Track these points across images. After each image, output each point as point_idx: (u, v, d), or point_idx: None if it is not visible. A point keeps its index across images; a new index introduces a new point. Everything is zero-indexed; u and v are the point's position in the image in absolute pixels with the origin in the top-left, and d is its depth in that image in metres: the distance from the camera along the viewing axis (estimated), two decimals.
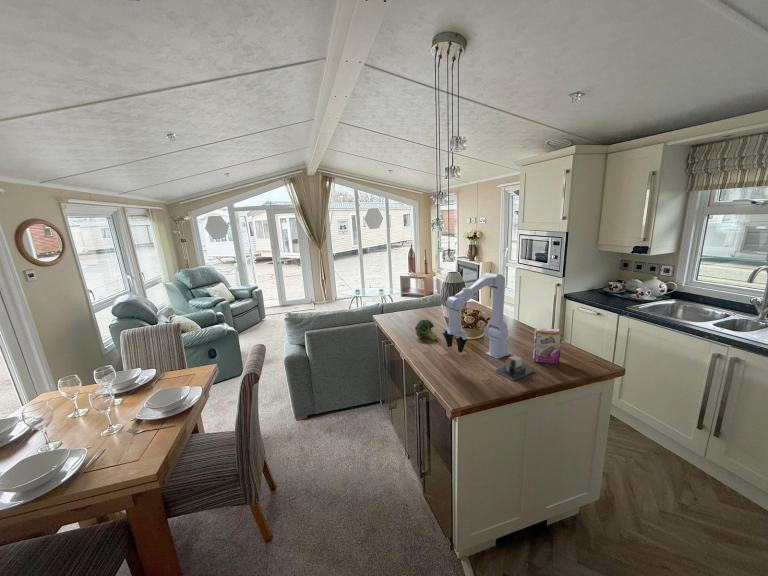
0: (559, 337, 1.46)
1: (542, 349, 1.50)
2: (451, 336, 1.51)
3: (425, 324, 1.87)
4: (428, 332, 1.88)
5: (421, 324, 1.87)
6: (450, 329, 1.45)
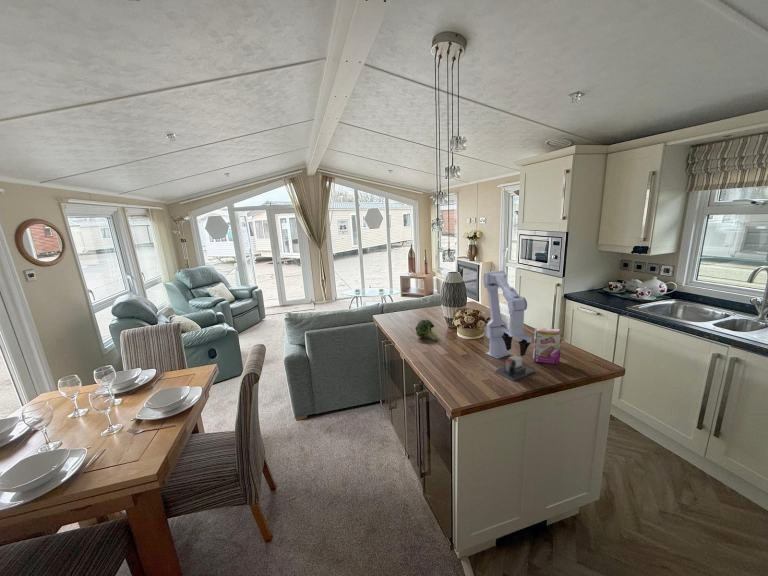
0: (559, 337, 1.46)
1: (542, 349, 1.50)
2: (510, 339, 1.44)
3: (425, 324, 1.87)
4: (428, 332, 1.88)
5: (421, 324, 1.87)
6: (512, 331, 1.38)
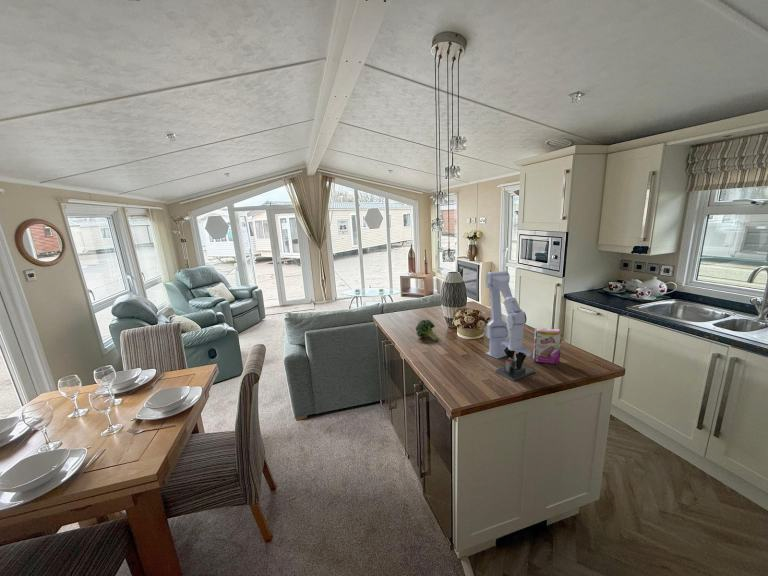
0: (559, 337, 1.46)
1: (542, 349, 1.50)
2: (512, 353, 1.45)
3: (426, 324, 1.87)
4: (429, 332, 1.87)
5: (422, 324, 1.87)
6: (511, 345, 1.40)
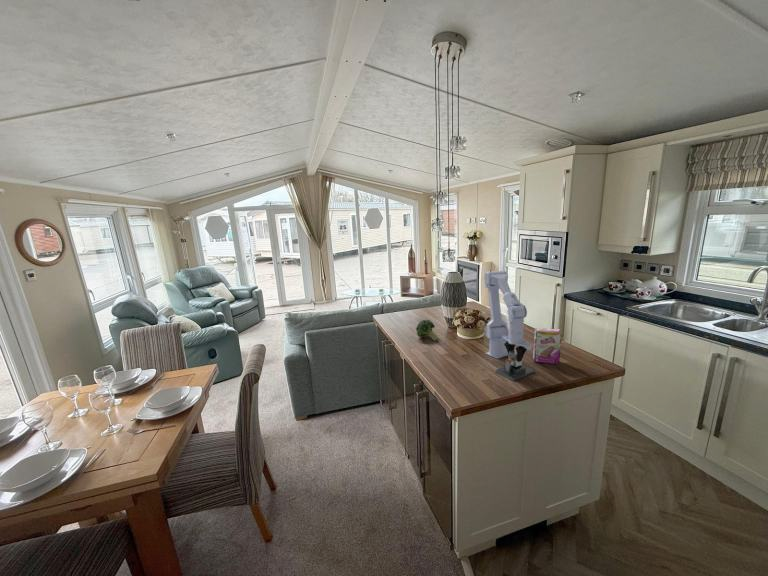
0: (559, 337, 1.46)
1: (542, 349, 1.50)
2: (513, 347, 1.44)
3: (426, 324, 1.86)
4: (429, 332, 1.87)
5: (422, 324, 1.87)
6: (512, 339, 1.39)
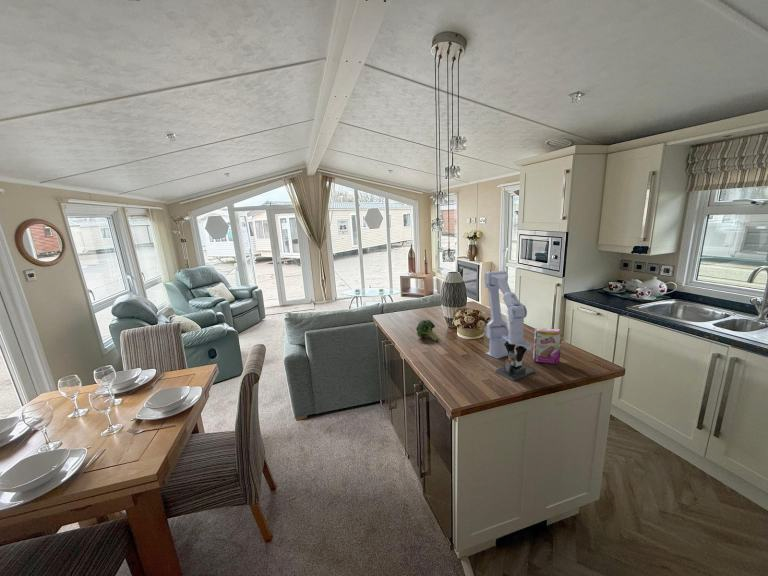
0: (559, 337, 1.46)
1: (542, 349, 1.50)
2: (513, 347, 1.44)
3: (426, 324, 1.86)
4: (429, 332, 1.87)
5: (422, 324, 1.86)
6: (512, 339, 1.39)
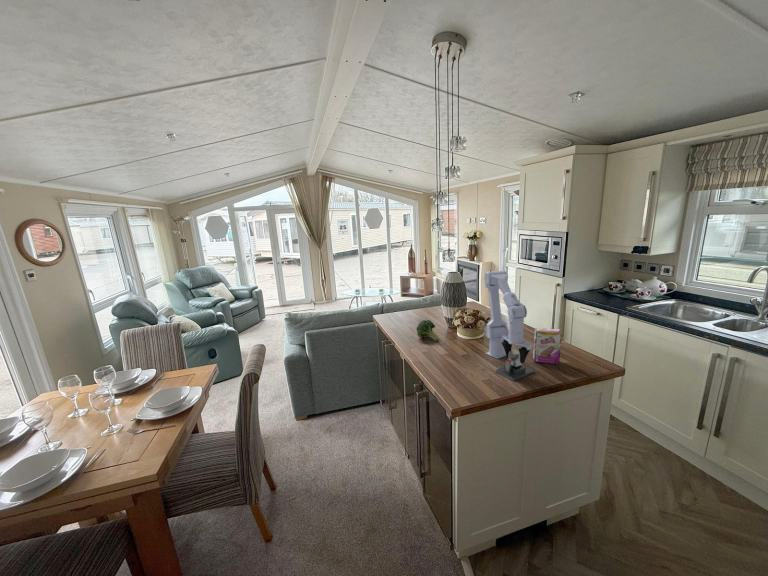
0: (559, 337, 1.46)
1: (542, 349, 1.50)
2: (510, 345, 1.45)
3: (426, 324, 1.86)
4: (429, 332, 1.87)
5: (422, 324, 1.86)
6: (512, 339, 1.39)
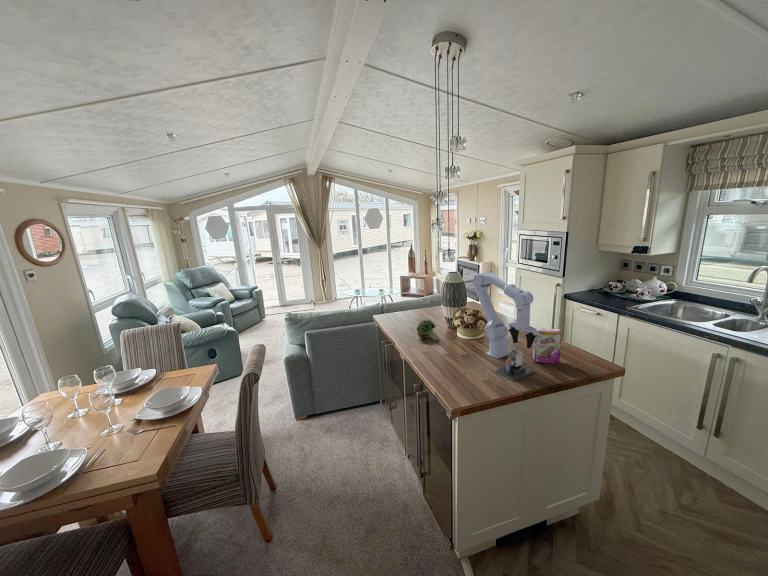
0: (559, 337, 1.46)
1: (542, 349, 1.50)
2: (517, 332, 1.50)
3: (427, 324, 1.86)
4: (430, 333, 1.87)
5: (423, 324, 1.86)
6: (519, 325, 1.44)
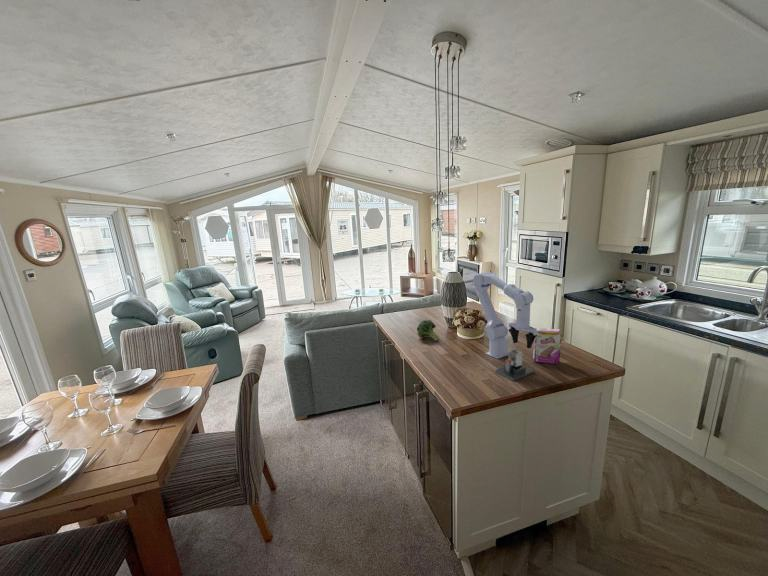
0: (559, 337, 1.46)
1: (542, 349, 1.50)
2: (517, 332, 1.50)
3: (427, 325, 1.86)
4: (430, 333, 1.87)
5: (423, 325, 1.86)
6: (519, 325, 1.44)
